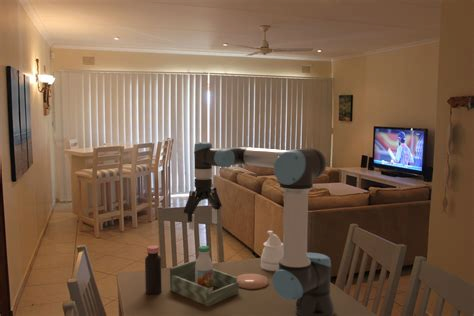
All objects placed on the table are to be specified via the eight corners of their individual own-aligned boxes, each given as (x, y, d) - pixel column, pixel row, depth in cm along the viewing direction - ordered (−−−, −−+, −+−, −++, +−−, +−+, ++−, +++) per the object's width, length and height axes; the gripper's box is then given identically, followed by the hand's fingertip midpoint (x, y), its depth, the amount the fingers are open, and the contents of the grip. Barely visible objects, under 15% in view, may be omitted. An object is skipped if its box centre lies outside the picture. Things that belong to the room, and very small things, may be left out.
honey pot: (258, 269, 225) (258, 234, 224) (264, 261, 238) (264, 227, 236) (283, 272, 222) (284, 236, 220) (288, 263, 234) (289, 229, 232)
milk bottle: (191, 293, 196) (191, 248, 194) (201, 287, 203) (201, 243, 201) (207, 296, 192) (206, 250, 190) (216, 290, 199) (216, 245, 197)
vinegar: (148, 296, 193) (148, 250, 191) (143, 290, 199) (142, 246, 196) (163, 292, 196) (163, 247, 194) (158, 287, 202) (157, 243, 200)
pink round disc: (274, 282, 209) (274, 279, 208) (253, 291, 198) (253, 288, 197) (249, 274, 219) (249, 271, 219) (228, 282, 208) (228, 279, 208)
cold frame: (238, 293, 196) (238, 270, 195) (208, 306, 183) (208, 282, 182) (200, 279, 212) (200, 258, 211) (170, 290, 199) (170, 268, 198)
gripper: (217, 174, 208) (217, 219, 210) (174, 180, 190) (175, 230, 192) (229, 175, 203) (229, 222, 205) (186, 182, 185) (187, 233, 187)
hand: (203, 226), depth 199 cm, fingers open, 13 cm apart
